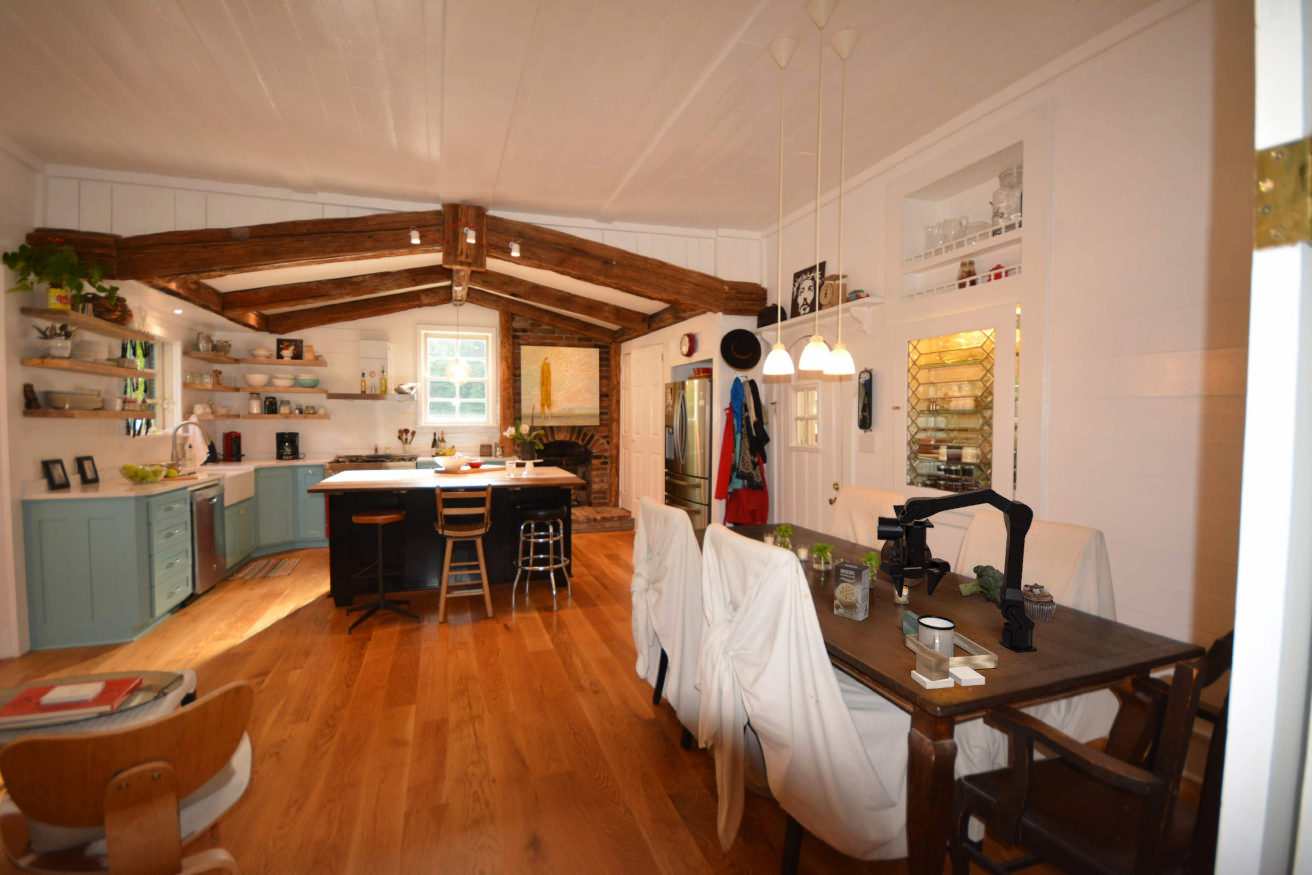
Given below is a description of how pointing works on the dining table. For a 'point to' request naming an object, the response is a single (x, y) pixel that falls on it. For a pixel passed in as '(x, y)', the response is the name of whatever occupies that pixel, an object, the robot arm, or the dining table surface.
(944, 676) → the beige cube
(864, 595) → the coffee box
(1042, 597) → the cupcake
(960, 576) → the dining table surface
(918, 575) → the ceramic vessel
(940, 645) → the mug
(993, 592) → the vegetable
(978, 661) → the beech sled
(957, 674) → the broken cream strip
